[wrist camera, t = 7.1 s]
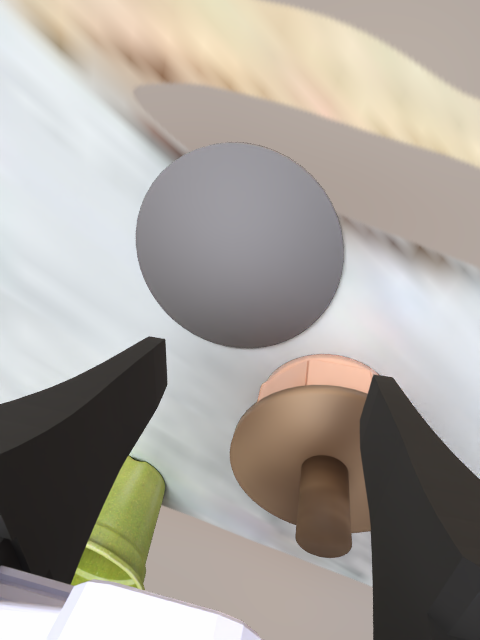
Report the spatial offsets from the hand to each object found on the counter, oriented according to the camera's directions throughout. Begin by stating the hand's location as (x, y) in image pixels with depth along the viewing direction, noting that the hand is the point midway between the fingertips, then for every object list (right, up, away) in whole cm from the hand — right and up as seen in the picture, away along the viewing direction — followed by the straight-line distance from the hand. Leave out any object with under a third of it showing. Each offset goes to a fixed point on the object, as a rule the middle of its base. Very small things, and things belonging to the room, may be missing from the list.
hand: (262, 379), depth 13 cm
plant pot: (-10, -12, +21) cm, 27 cm away
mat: (-1, +6, +9) cm, 11 cm away
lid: (+4, -6, +9) cm, 12 cm away
